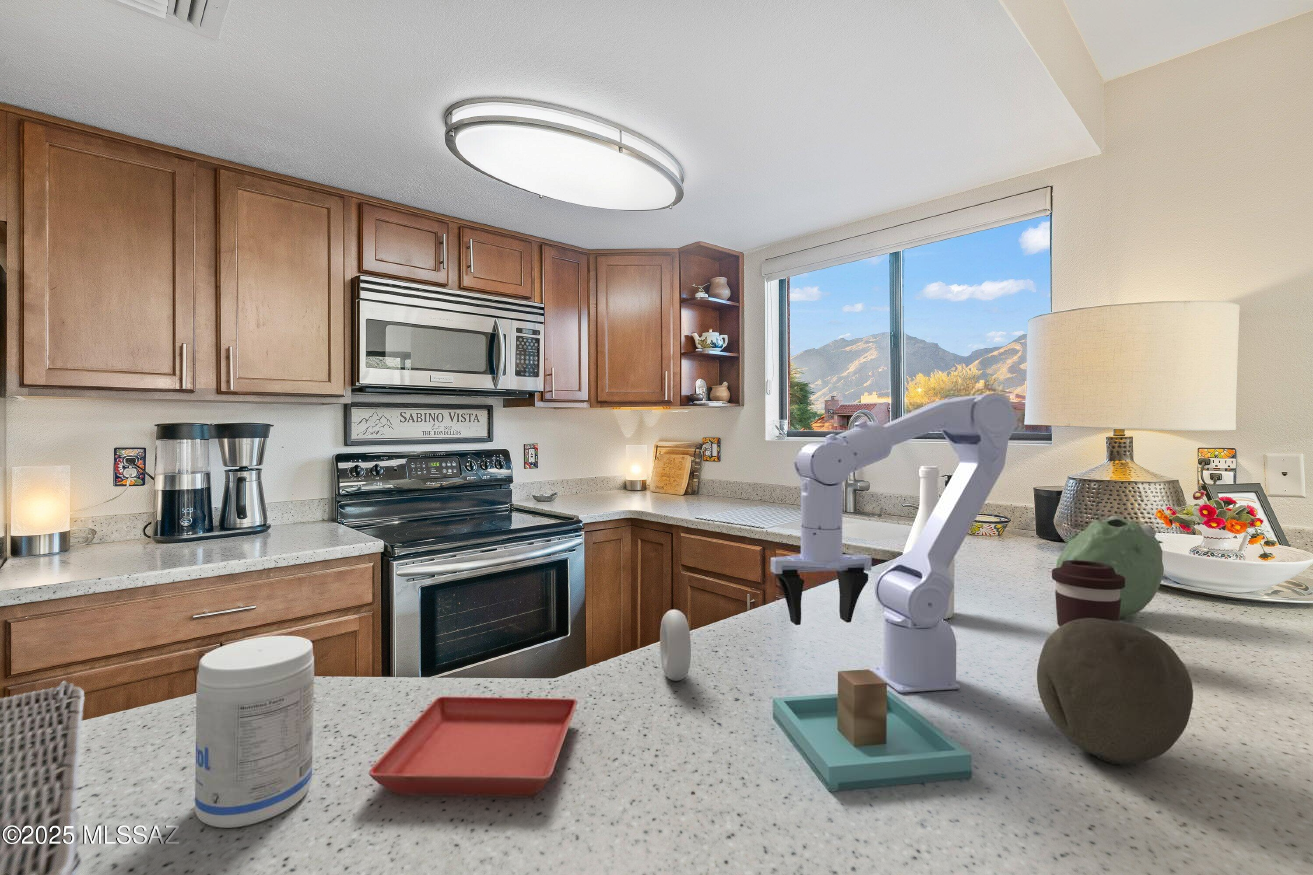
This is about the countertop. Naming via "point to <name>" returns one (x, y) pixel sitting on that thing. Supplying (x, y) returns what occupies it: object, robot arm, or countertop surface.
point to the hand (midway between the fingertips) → (820, 621)
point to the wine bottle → (925, 510)
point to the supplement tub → (253, 729)
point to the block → (862, 707)
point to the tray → (870, 746)
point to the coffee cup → (1087, 591)
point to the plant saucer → (478, 747)
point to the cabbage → (1122, 557)
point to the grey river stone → (1114, 689)
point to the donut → (675, 645)
